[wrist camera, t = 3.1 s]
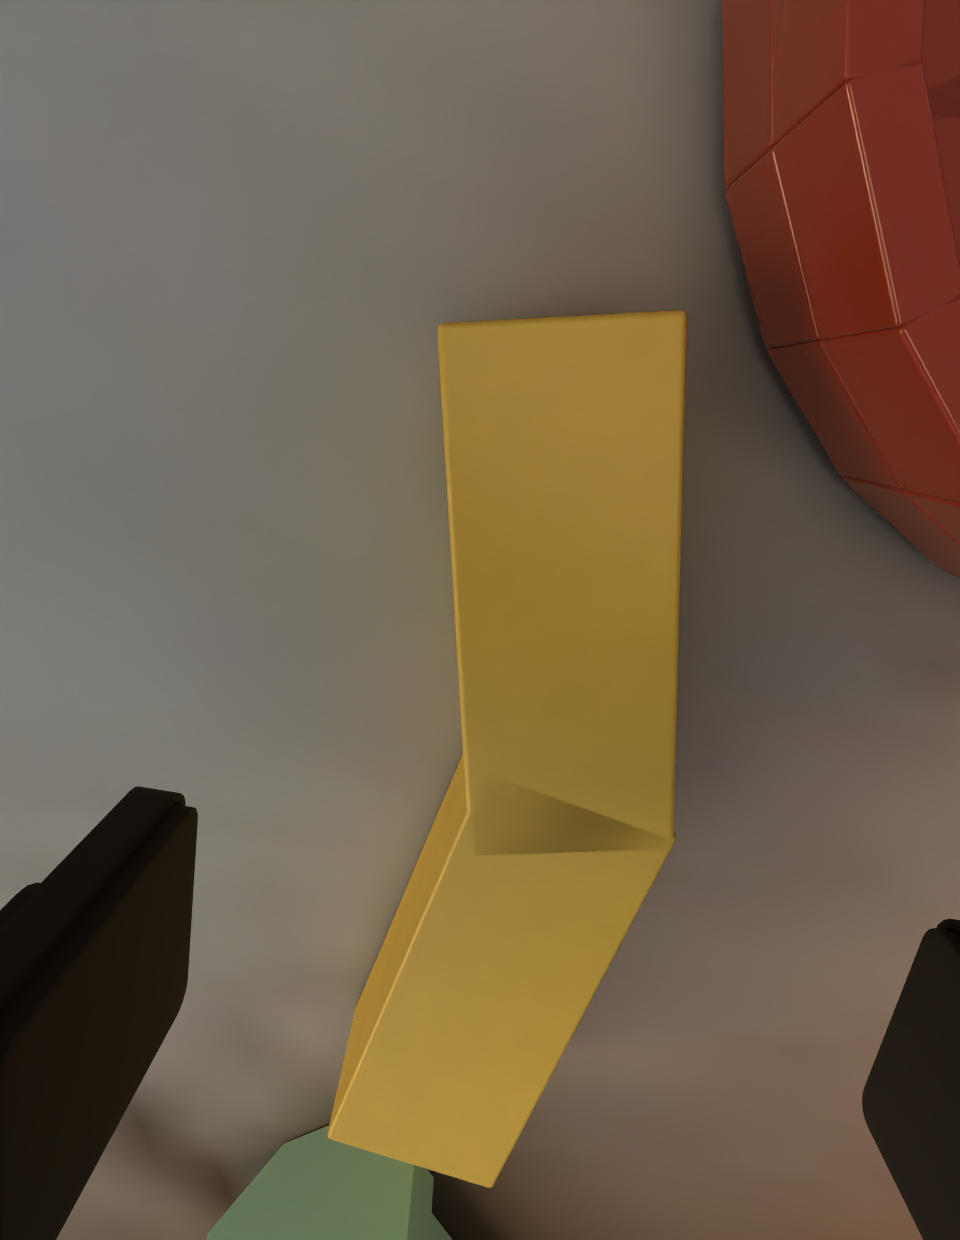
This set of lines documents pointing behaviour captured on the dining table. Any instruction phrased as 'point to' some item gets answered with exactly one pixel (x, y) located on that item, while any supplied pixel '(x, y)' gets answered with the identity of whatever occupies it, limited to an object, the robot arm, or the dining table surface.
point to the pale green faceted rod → (332, 1197)
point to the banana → (534, 731)
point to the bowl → (857, 235)
